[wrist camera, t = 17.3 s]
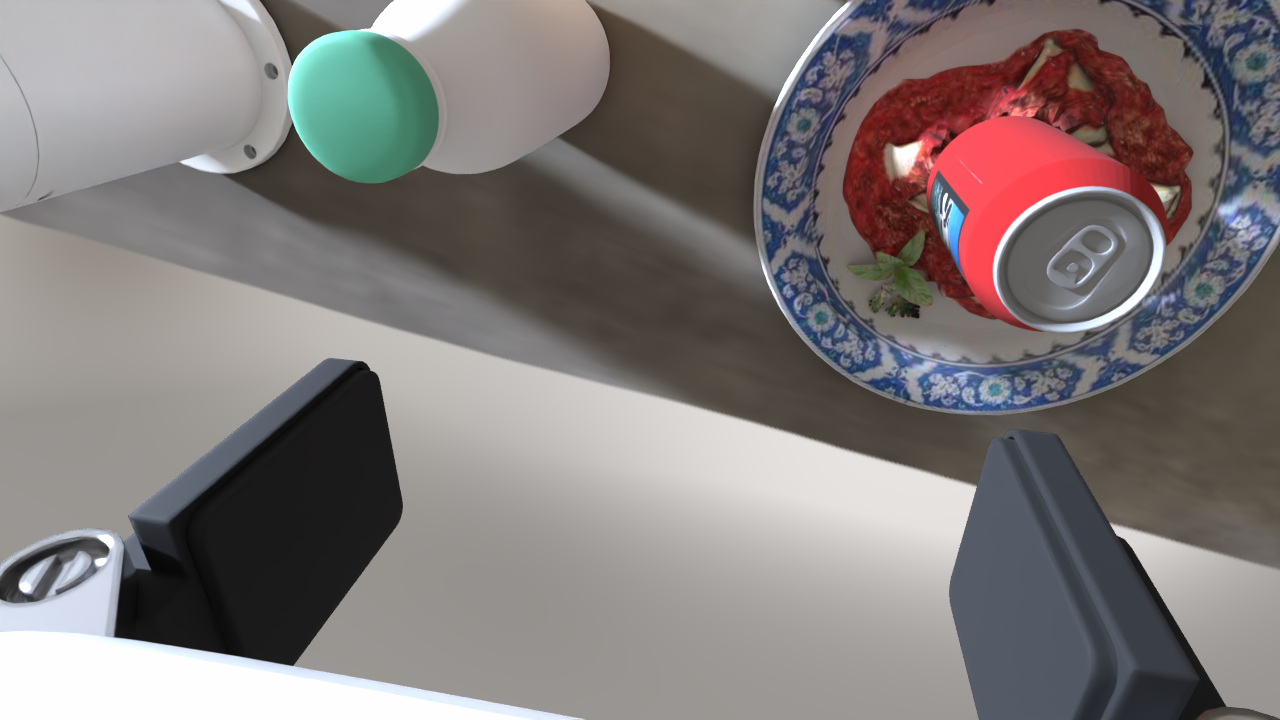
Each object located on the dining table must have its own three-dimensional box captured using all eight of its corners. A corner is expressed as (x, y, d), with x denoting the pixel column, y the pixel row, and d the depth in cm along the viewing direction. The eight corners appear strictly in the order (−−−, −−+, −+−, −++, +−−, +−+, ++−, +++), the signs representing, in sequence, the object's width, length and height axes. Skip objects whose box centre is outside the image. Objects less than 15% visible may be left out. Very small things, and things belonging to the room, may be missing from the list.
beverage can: (894, 205, 37) (933, 291, 26) (987, 84, 33) (1074, 128, 23) (1002, 272, 37) (1082, 382, 27) (1103, 159, 34) (1240, 236, 23)
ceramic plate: (1207, -235, 29) (1247, -256, 27) (1339, 286, 37) (1380, 308, 35) (673, 98, 39) (664, 106, 37) (867, 452, 47) (871, 479, 45)
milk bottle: (529, -55, 37) (294, -92, 20) (641, 48, 38) (513, 99, 21) (455, 66, 41) (202, 126, 23) (560, 157, 42) (393, 277, 25)
